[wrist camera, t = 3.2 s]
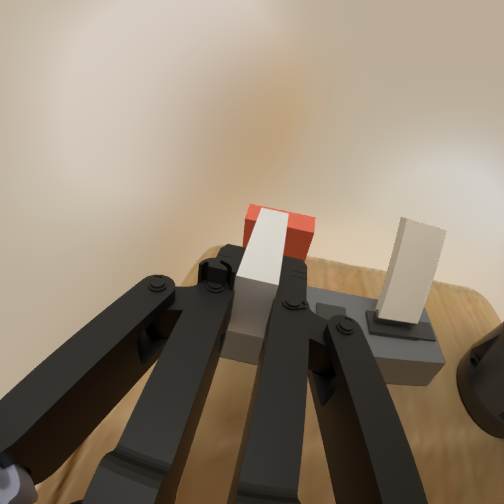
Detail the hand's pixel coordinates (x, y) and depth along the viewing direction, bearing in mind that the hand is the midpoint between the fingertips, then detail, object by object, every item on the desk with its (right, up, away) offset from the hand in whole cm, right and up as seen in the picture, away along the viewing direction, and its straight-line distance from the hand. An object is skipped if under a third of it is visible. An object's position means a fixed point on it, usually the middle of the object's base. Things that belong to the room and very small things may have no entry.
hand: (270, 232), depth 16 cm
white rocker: (+14, -8, +11) cm, 20 cm away
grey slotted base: (+6, -11, +14) cm, 19 cm away
